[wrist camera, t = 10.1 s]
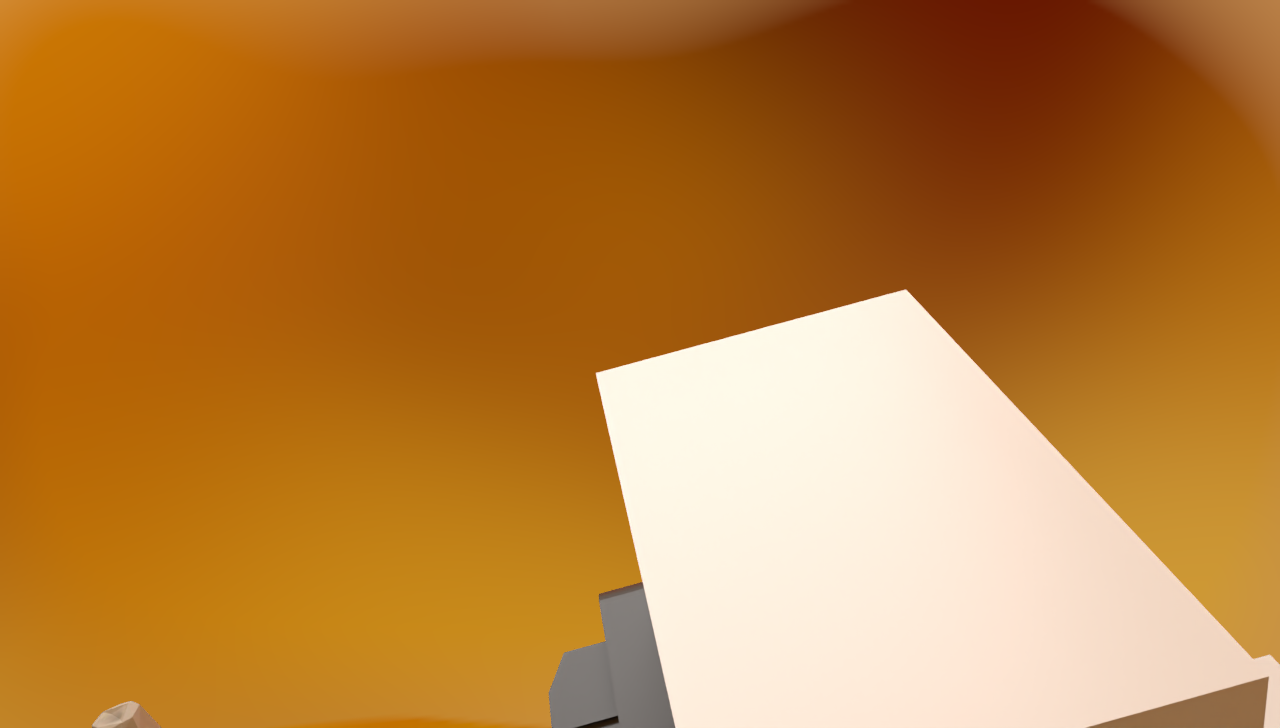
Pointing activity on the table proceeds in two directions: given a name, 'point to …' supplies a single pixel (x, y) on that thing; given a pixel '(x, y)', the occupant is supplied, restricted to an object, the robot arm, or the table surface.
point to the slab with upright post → (895, 546)
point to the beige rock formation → (125, 717)
